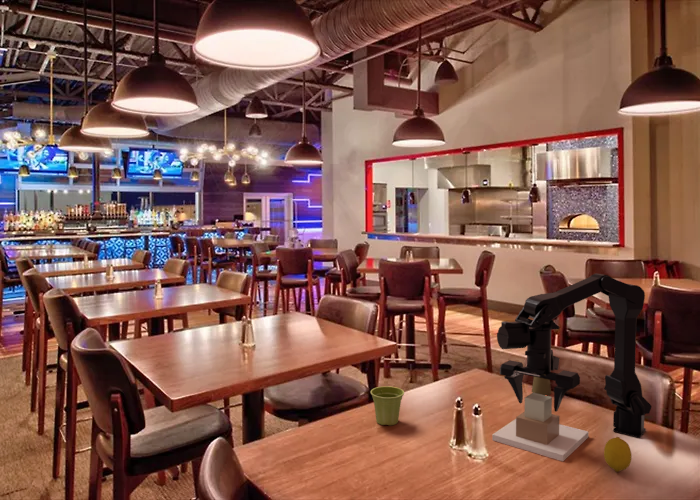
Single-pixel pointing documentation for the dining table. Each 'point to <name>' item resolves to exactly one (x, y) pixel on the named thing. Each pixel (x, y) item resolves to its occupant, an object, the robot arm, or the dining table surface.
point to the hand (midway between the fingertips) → (538, 406)
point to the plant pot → (387, 404)
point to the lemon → (617, 454)
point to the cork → (541, 386)
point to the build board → (545, 450)
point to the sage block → (538, 407)
